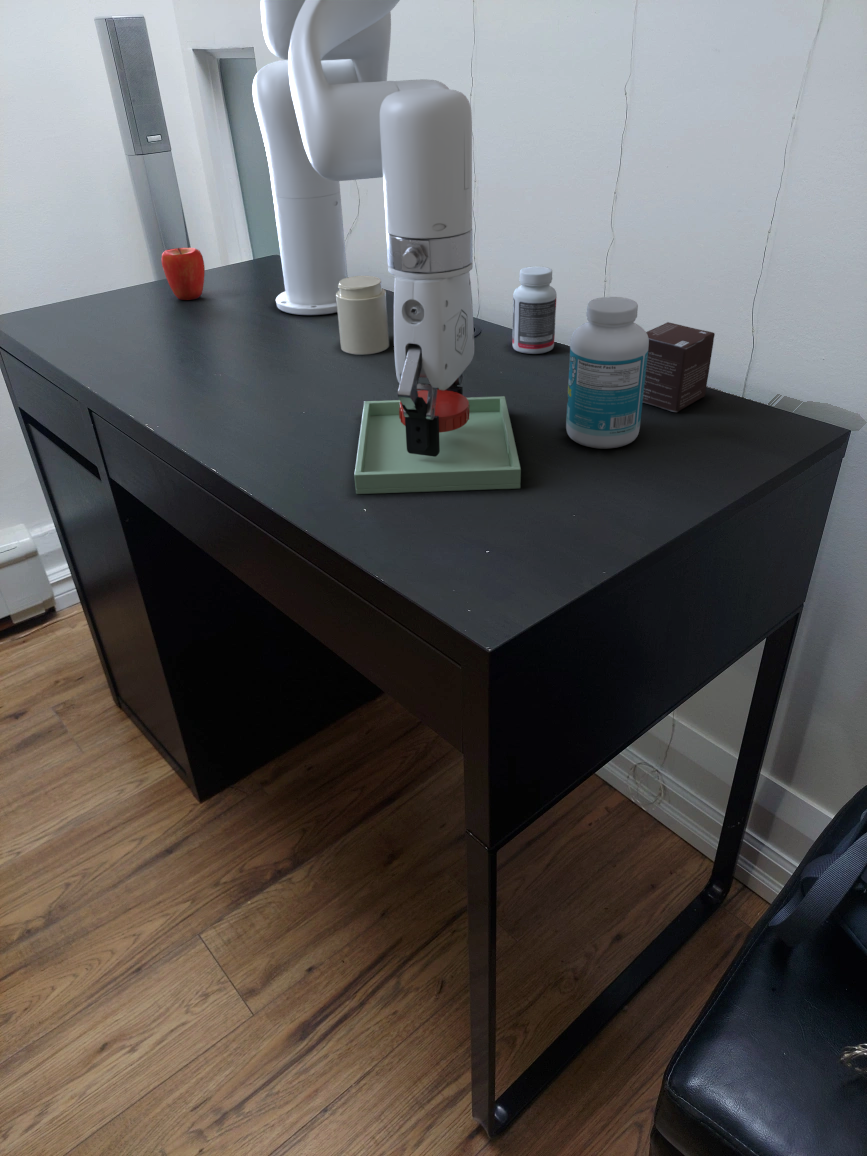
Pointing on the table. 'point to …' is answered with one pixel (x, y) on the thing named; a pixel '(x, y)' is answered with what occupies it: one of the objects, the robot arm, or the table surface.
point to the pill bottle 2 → (607, 375)
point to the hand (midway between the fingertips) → (435, 436)
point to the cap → (446, 409)
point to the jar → (362, 315)
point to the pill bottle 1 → (534, 311)
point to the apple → (184, 272)
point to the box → (677, 366)
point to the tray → (462, 463)
